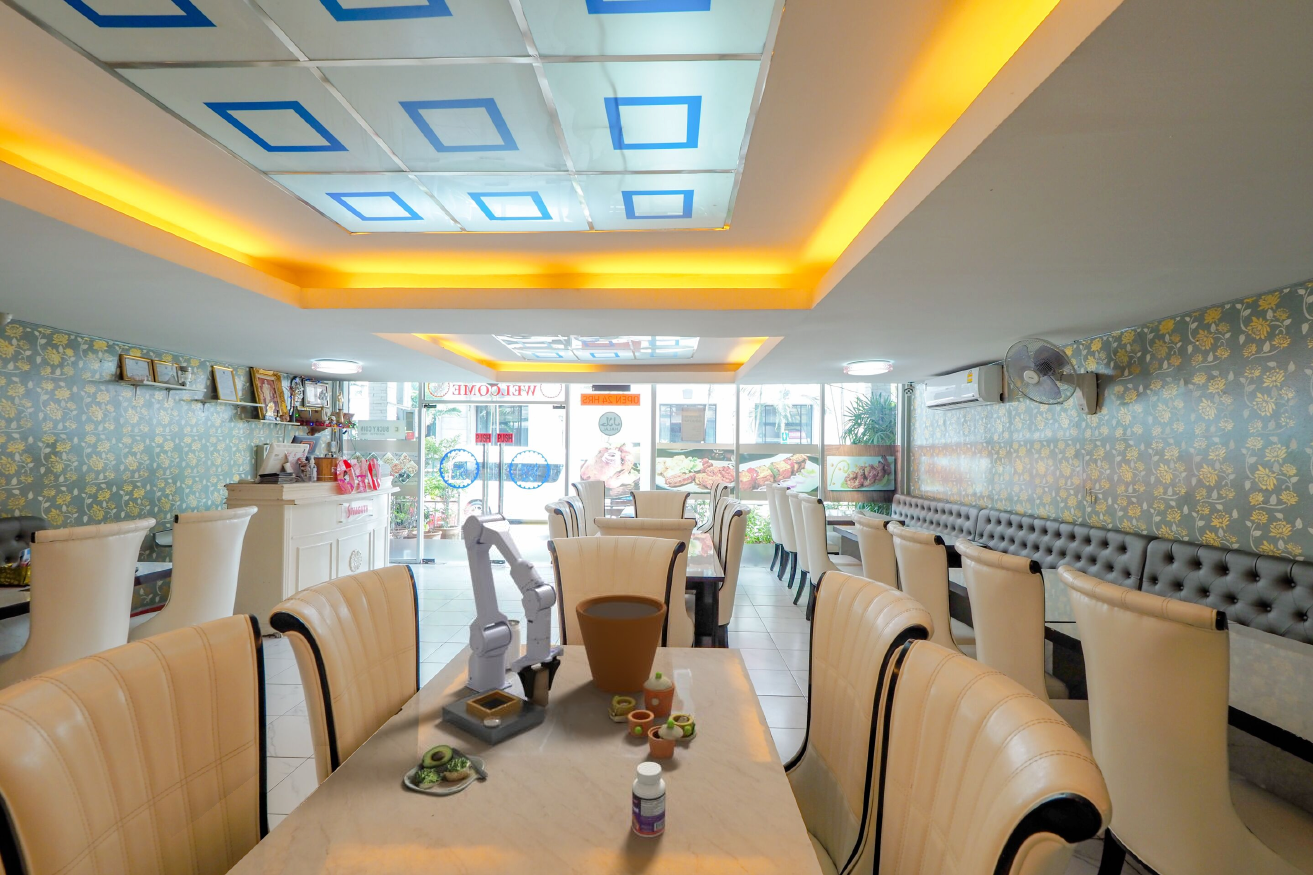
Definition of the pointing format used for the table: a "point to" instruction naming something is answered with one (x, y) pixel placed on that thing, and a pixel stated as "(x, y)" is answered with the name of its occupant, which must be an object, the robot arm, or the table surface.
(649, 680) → the toy tea set
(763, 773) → the table surface
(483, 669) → the robot arm
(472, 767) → the salad plate
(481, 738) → the gray peg socket base
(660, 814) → the pill bottle
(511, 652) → the can
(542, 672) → the walnut peg
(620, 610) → the flower pot
